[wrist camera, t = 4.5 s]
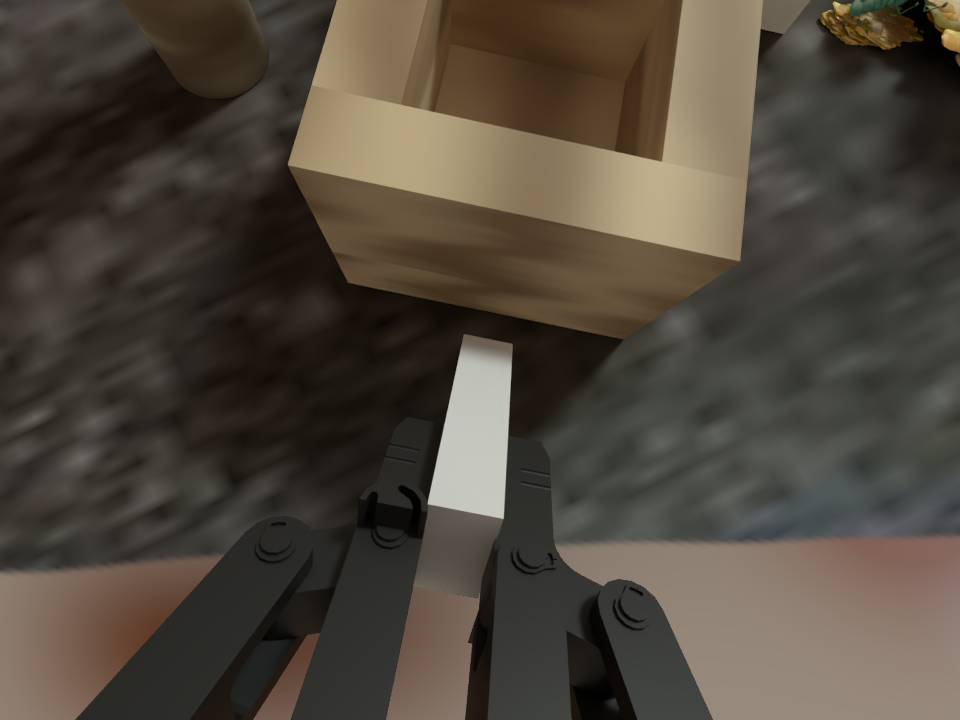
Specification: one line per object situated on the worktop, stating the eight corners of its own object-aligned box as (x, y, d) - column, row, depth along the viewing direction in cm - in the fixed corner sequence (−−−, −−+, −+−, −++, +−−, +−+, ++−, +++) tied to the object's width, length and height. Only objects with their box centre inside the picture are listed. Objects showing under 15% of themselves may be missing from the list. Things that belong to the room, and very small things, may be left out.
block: (348, 282, 20) (288, 165, 12) (409, 46, 22) (392, -183, 14) (624, 339, 20) (739, 261, 12) (656, 100, 22) (771, -93, 15)
